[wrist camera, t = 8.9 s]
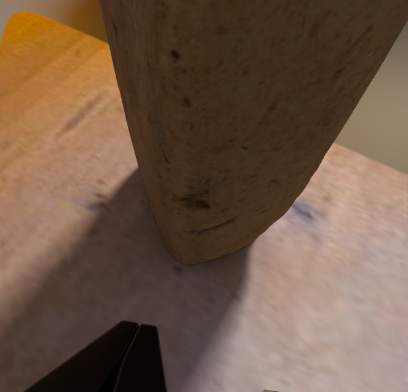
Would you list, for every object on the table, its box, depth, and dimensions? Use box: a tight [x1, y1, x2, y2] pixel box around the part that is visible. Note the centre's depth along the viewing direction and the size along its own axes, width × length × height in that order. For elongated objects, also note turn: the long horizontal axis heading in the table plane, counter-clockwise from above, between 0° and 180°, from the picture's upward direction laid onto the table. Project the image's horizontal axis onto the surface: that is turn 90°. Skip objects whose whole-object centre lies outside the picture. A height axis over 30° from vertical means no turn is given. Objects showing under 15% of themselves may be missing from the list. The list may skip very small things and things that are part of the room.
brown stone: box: [99, 0, 408, 265], centre depth 13 cm, size 11×8×20 cm
